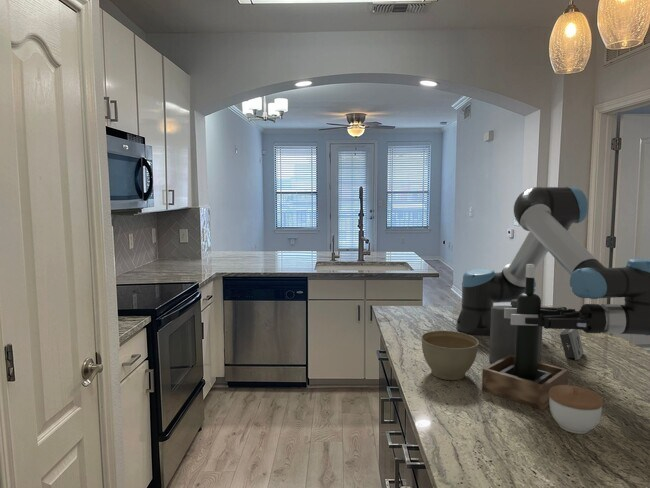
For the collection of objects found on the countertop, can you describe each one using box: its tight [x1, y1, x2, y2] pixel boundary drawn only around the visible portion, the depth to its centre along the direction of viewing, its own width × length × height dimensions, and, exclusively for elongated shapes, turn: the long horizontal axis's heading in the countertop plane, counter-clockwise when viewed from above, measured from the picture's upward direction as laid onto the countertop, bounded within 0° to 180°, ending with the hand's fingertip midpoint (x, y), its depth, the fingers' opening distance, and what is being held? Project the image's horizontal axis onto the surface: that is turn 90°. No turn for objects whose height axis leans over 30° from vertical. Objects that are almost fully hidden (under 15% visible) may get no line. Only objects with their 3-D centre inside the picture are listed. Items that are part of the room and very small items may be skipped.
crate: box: [481, 355, 569, 411], centre depth 123 cm, size 16×16×6 cm
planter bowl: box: [420, 330, 479, 381], centre depth 133 cm, size 16×16×11 cm
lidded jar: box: [549, 384, 604, 435], centre depth 103 cm, size 11×11×9 cm
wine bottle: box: [514, 264, 542, 379], centre depth 121 cm, size 6×6×30 cm
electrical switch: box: [559, 329, 584, 361], centre depth 149 cm, size 9×5×9 cm, turn 141°
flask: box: [488, 299, 543, 364], centre depth 142 cm, size 15×6×20 cm, turn 76°
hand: (507, 316), depth 121 cm, fingers closed on wine bottle, 6 cm apart
